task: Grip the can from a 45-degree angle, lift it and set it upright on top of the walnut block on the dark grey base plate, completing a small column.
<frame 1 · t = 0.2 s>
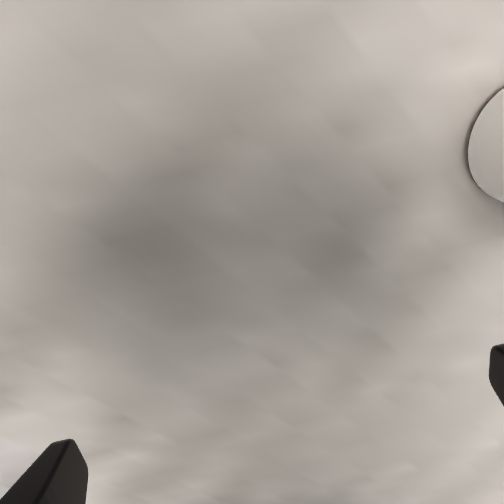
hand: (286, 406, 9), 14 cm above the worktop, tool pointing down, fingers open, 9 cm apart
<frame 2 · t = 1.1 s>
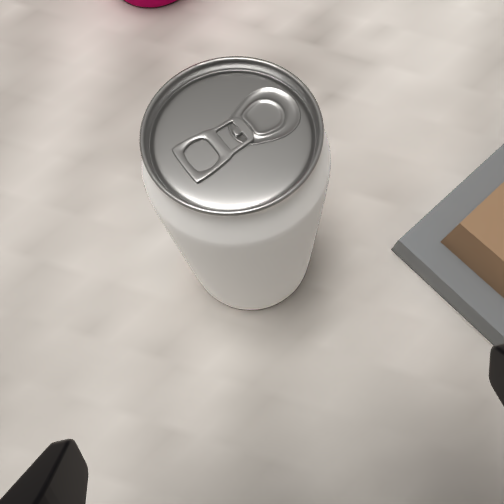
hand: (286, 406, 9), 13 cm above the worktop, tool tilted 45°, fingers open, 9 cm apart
can: (251, 256, 25), on the worktop
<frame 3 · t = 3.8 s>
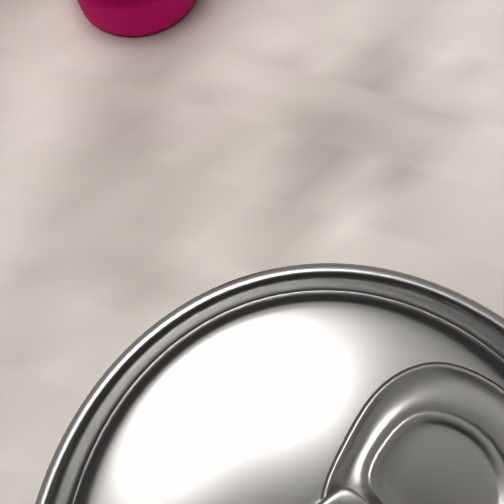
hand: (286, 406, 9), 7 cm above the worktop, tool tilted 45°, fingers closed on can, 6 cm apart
can: (292, 447, 15), on the worktop, touching gripper
when the fingers open (12 cm above the worktop, at t = 7.9 s): can drops 1 cm, resting on plinth.
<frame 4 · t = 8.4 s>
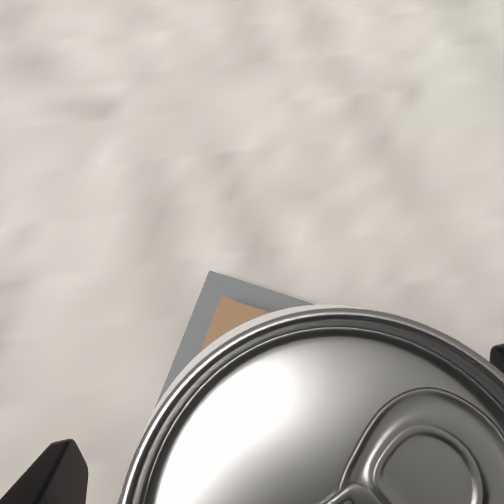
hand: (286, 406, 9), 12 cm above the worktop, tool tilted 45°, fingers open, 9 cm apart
plinth: (287, 436, 20), on the worktop
can: (298, 448, 16), point 4 cm above the worktop, touching plinth
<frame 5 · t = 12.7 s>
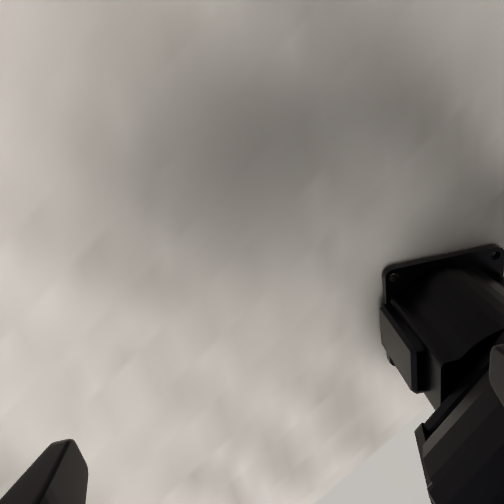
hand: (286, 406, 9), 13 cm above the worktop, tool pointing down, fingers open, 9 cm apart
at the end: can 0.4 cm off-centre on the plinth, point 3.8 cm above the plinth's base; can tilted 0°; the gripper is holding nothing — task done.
